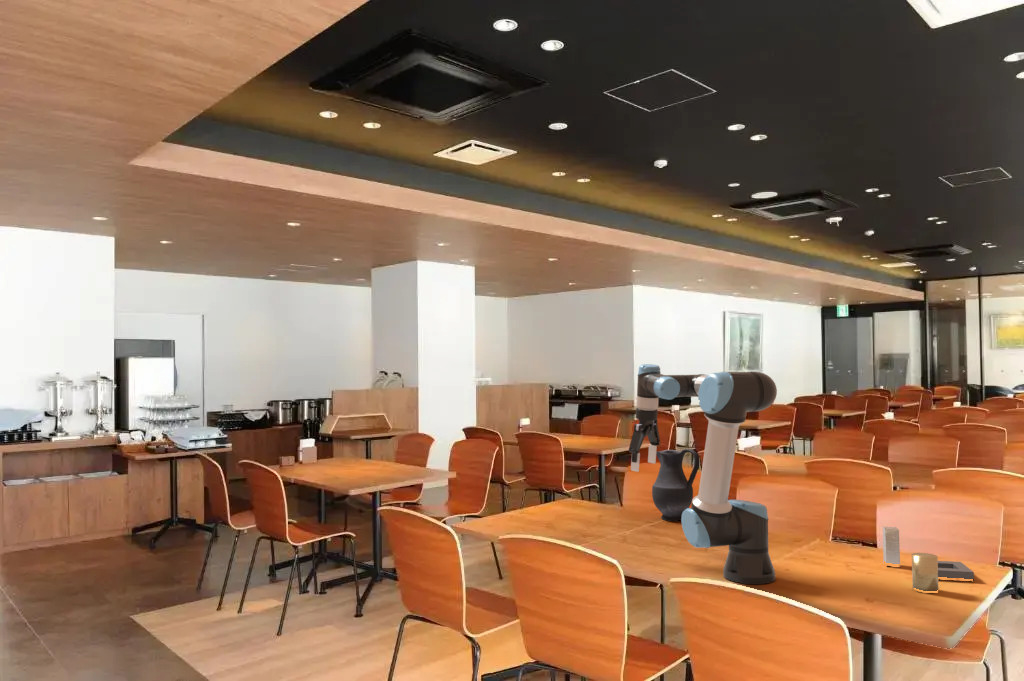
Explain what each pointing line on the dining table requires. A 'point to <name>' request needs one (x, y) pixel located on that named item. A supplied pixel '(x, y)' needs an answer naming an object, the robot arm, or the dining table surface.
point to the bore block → (954, 570)
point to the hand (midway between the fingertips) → (643, 466)
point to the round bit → (925, 571)
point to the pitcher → (673, 484)
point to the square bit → (891, 545)
